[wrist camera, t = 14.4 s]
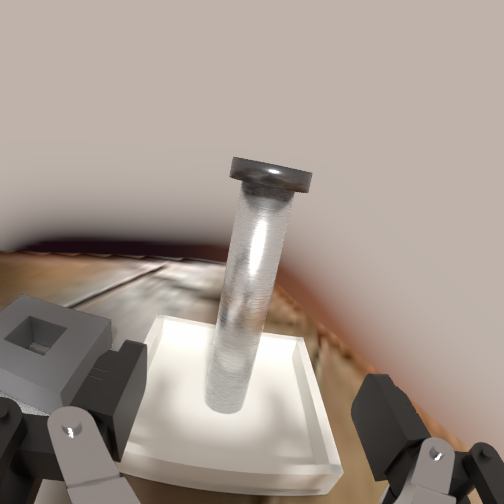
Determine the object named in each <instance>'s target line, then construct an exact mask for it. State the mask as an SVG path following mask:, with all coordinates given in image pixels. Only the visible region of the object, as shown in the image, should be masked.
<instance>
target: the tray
mask: <svg viewBox="0 0 504 504" xmlns="http://www.w3.org/2000/svg"><path fill="white" fill-rule="evenodd" d="M215 329H216V325H213V324H207V323H202V322H196V321H191V320H186V319H180V318H175V317H170V316H165V315H161V314H158V315H157V317H156V319H155V321H154V323H153V325H152V327H151V329H150V331H149V333H148V335H147V337H146V339H145V341H144V343H143V344H147V383H146V388H145V393H144V396H143V398H142V401H141V404H140V407H139V410H138V412H137V415H136V418H135V421H134V424H133V427H132V430H131V433H130V436H129V438H128V441H127V444H126V447H125V450H124V453H123V456H122V459H121V463H119V462H115V461H113V462H114V464H115V466H116V468H117V470H118V471H119V472H121V473H125V474H128V475H132V476H136V477H140V478H144V479H148V480H152V481H157V482H161V483H166V484H171V485H177V486H182V487H188V488H194V489H201V490H208V491H216V492H226V493H236V494H250V495H272V496H305V495H327V494H328V493H329V491H330V490H331V489H332V488H333V486H334V485H335V484H336V482H337V481H338V480H339V478H340V477H341V476H342V474H343V470H342V466H341V463H340V459H339V456H338V452H337V449H336V445H335V442H334V438H333V435H332V432H331V428H330V425H329V421H328V418H327V415H326V411H325V408H324V405H323V401H322V398H321V395H320V391H319V388H318V385H317V382H316V378H315V375H314V372H313V369H312V365H311V362H310V359H309V356H308V352H307V349H306V346H305V343H304V340H303V338H300V337H292V336H284V335H277V334H270V333H263V332H262V335H261V339H260V343H259V347H258V351H257V355H256V359H255V363H254V367H253V371H252V375H251V378H250V382H249V386H248V390H247V394H246V398H245V401H244V405H243V407H242V409H241V410H240V411H238V412H236V413H233V414H221V413H218V412H215V411H213V410H212V409H210V408H209V407H208V406H207V405H206V403H205V399H204V398H205V391H206V385H207V378H208V372H209V366H210V359H211V353H212V347H213V341H214V335H215Z"/></svg>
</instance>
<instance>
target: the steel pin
mask: <svg viewBox="0 0 504 504" xmlns="http://www.w3.org/2000/svg"><path fill="white" fill-rule="evenodd" d="M230 177H231V178H234V179H237V180H242V184H241V190H240V195H239V200H238V205H237V211H236V216H235V221H234V227H233V232H232V238H231V243H230V249H229V254H228V260H227V265H226V271H225V277H224V282H223V288H222V294H221V299H220V305H219V311H218V317H217V323H216V329H215V335H214V341H213V347H212V353H211V359H210V366H209V372H208V378H207V385H206V391H205V398H204V399H205V403H206V405H207V406H208V407H209V408H210V409H212V410H213V411H215V412H218V413H221V414H233V413H236V412H238V411H240V410H241V409H242V407H243V405H244V401H245V398H246V394H247V390H248V386H249V382H250V378H251V375H252V371H253V367H254V363H255V359H256V355H257V351H258V347H259V343H260V339H261V335H262V331H263V327H264V323H265V319H266V315H267V311H268V306H269V302H270V298H271V294H272V290H273V286H274V281H275V277H276V273H277V268H278V264H279V260H280V256H281V251H282V247H283V242H284V238H285V234H286V229H287V224H288V220H289V215H290V211H291V206H292V202H293V197H294V192H301V193H308V192H309V187H310V182H311V178H312V173H310V172H306V171H301V170H297V169H292V168H288V167H283V166H278V165H274V164H269V163H264V162H258V161H253V160H248V159H243V158H237V157H233V160H232V165H231V170H230Z"/></svg>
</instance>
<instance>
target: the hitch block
mask: <svg viewBox="0 0 504 504" xmlns="http://www.w3.org/2000/svg"><path fill="white" fill-rule="evenodd" d="M33 341H34V342H37V343H40V344H42V345H45V346H48V347H51V348H50V349H49V350H48V351H47V353H46V354H45V355H44V356H43V355H40V354H38V353H35V352H32V351H30V350H27V348H28V347H29V346H30V344H31V343H32V342H33ZM111 345H112V337H111V320H110V319H106V318H103V317H99V316H95V315H91V314H87V313H84V312H80V311H76V310H73V309H69V308H66V307H62V306H59V305H56V304H52V303H49V302H46V301H43V300H39V299H36V298H33V297H30V296H27V295H24V294H23V295H21V296H20V297H19V298H17V299H16V300H15V301H13V302H12V303H11V304H10V305H8V306H7V307H6V308H5V309H3V310H2V311H1V312H0V391H1V392H3V393H5V394H7V395H9V396H11V397H13V398H15V399H17V400H19V401H21V402H23V403H26V404H28V405H30V406H32V407H34V408H37V409H39V410H41V411H44V412H46V413H48V414H52V412H54V411H55V410H57V409H59V408H61V407H67V406H69V405H70V403H71V402H72V400H73V398H74V396H75V395H76V393H77V391H78V390H79V388H80V386H81V385H82V383H83V381H84V380H85V378H86V377H87V376H88V373H89V372H90V370H91V368H93V365H94V364H95V362H96V360H97V359H98V357H99V356H101V355H102V354H104V353H105V352H107V351H108V350H109V349H110V347H111Z"/></svg>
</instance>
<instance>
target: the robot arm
mask: <svg viewBox="0 0 504 504" xmlns="http://www.w3.org/2000/svg"><path fill="white" fill-rule="evenodd" d="M146 383H147V344H143V343H139V342H134V341H130V340H125V341H124V343H123V345H122V347H121V348H120V350H119V352H116V351H112V350H109V351H107V352H105V353H104V354H102V355H101V356H99V357H98V359H97V360H96V362H95V364H94V365H93V368H91V370H90V372H89V373H88V376H87V377H86V378H85V380H84V381H83V383H82V385H81V386H80V388H79V390H78V391H77V393H76V395H75V396H74V398H73V400H72V402H71V403H70V405H69V406H67V407H61V408H59V409H57V410H55V411H54V412H52V414H51V415H50V416H41V415H33V414H25V413H22V411H21V409H20V407H19V405H18V404H17V403H16V402H15V401H13V400H11V399H9V398H5V397H0V504H34V502H35V499H36V496H37V493H38V491H39V488H40V485H41V483H42V480H43V479H49V480H58V481H65V482H66V485H67V487H66V488H67V491H68V494H69V497H70V499H71V501H72V504H141V503H140V502H139V500H138V498H137V497H136V495H135V493H134V492H133V490H132V488H131V486H130V485H129V483H128V481H127V480H126V478H125V477H124V476H123V475H120V473H119V471H118V470H117V468H116V466H115V464H114V462H113V461H115V462H119V463H121V459H122V456H123V453H124V450H125V447H126V444H127V441H128V438H129V436H130V433H131V430H132V427H133V424H134V421H135V418H136V415H137V412H138V410H139V407H140V404H141V401H142V398H143V396H144V393H145V388H146ZM351 416H352V420H353V422H354V425H355V428H356V430H357V433H358V436H359V438H360V441H361V444H362V446H363V449H364V452H365V454H366V457H367V460H368V462H369V465H370V468H371V471H372V473H373V476H374V479H375V482H376V481H383V480H388V482H389V484H388V485H387V486H386V488H385V489H384V492H383V494H382V496H381V498H380V501H379V503H378V504H471V503H470V500H469V498H468V496H467V495H468V494H470V493H471V492H472V491H473V490H474V489H475V488H476V490H477V492H478V494H479V496H480V498H481V500H482V502H483V504H504V463H503V461H502V460H501V458H500V456H499V454H498V453H497V451H496V450H495V449H494V448H493V447H492V446H491V445H489V444H486V443H482V442H479V443H476V444H475V445H474V446H473V447H472V448H471V449H470V450H469V452H458V451H454V450H453V448H452V447H451V445H450V444H449V443H447V442H446V441H444V440H442V439H440V438H435V437H431V435H430V433H429V432H428V430H427V428H426V427H425V425H424V423H423V422H422V420H421V418H420V417H419V415H418V413H416V410H415V408H414V406H412V403H411V402H410V400H409V398H408V397H407V395H406V394H405V393H404V392H403V391H402V390H400V389H399V388H398V387H396V386H395V385H394V383H393V381H392V380H391V378H390V377H389V375H387V374H368V375H367V376H366V377H365V379H364V381H363V383H362V385H361V387H360V389H359V391H358V393H357V395H356V397H355V399H354V401H353V404H352V408H351Z"/></svg>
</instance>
